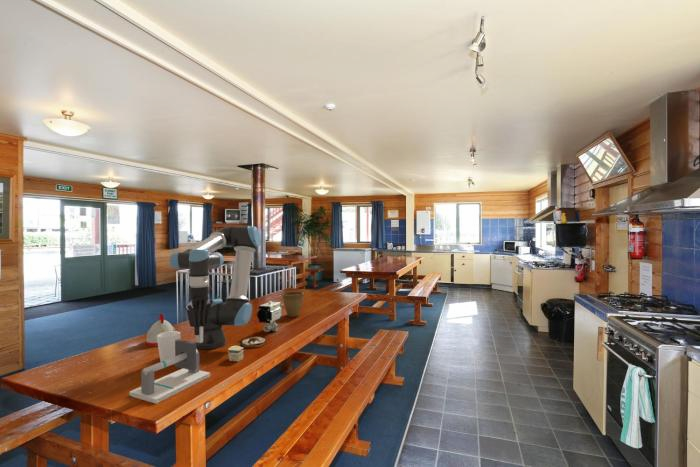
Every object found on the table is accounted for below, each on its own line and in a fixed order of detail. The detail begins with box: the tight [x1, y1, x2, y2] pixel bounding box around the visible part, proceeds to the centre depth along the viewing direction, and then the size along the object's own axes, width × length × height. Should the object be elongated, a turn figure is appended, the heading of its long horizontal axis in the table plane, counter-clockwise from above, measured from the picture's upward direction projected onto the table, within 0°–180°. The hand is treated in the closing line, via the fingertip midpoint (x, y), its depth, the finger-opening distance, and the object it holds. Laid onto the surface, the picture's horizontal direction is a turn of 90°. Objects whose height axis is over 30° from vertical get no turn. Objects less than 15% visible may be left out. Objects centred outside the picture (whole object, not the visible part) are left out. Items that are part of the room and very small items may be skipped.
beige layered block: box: [227, 345, 245, 362], centre depth 157 cm, size 10×9×6 cm
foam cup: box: [157, 330, 182, 366], centre depth 152 cm, size 10×9×13 cm
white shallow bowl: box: [241, 336, 267, 349], centre depth 178 cm, size 15×15×4 cm
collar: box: [174, 339, 197, 370], centre depth 136 cm, size 10×2×11 cm, turn 66°
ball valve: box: [256, 300, 283, 333], centre depth 201 cm, size 18×8×18 cm, turn 163°
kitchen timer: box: [145, 313, 176, 347], centre depth 182 cm, size 14×14×15 cm
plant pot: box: [282, 291, 304, 318], centre depth 238 cm, size 15×15×16 cm
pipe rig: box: [128, 348, 211, 405], centre depth 130 cm, size 14×24×11 cm, turn 156°
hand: (199, 341), depth 142 cm, fingers closed
